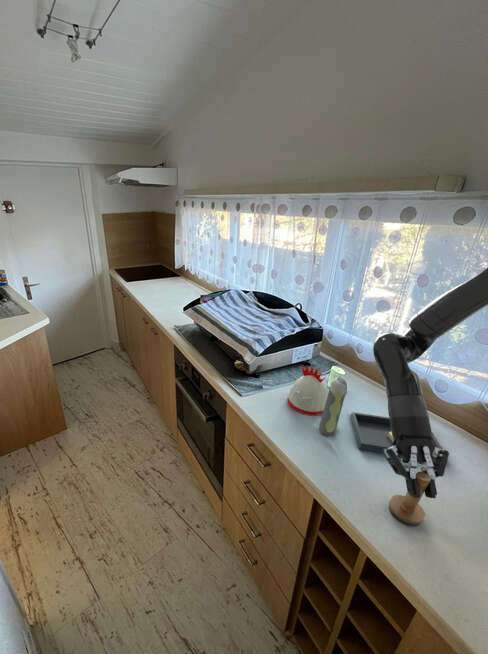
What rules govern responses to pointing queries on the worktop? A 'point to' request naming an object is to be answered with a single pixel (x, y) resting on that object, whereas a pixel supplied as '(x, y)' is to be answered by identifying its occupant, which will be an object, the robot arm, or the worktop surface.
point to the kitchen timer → (308, 393)
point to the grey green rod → (333, 407)
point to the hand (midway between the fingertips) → (423, 497)
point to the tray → (375, 433)
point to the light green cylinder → (335, 374)
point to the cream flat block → (391, 436)
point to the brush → (410, 504)
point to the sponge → (241, 366)
